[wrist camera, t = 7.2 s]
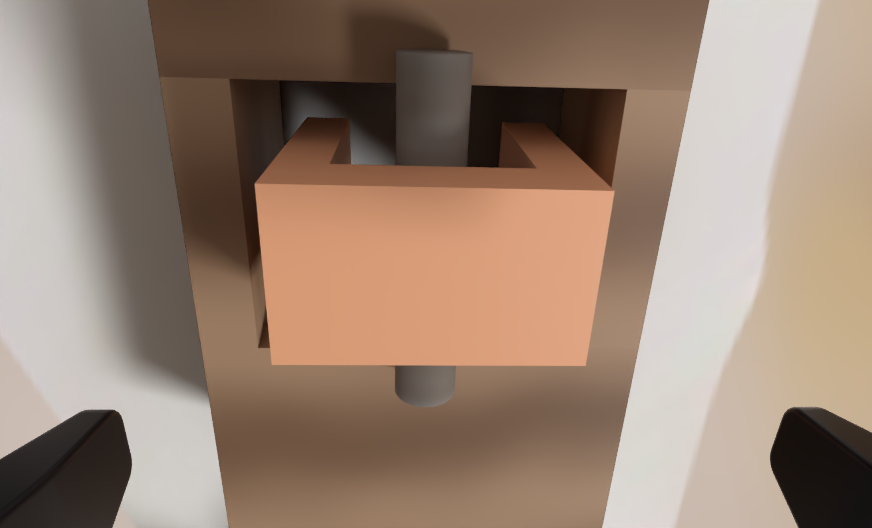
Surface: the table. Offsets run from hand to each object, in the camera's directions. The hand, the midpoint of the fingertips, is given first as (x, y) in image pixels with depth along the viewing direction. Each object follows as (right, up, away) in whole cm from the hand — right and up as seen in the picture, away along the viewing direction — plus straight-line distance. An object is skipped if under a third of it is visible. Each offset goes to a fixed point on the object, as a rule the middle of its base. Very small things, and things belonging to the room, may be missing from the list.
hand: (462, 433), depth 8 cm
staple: (-1, +5, +10) cm, 11 cm away
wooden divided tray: (-1, +3, +13) cm, 13 cm away
